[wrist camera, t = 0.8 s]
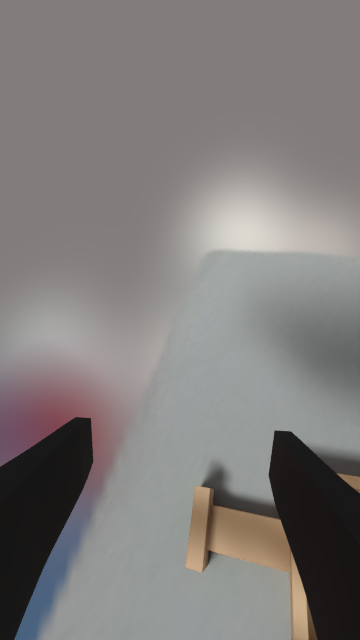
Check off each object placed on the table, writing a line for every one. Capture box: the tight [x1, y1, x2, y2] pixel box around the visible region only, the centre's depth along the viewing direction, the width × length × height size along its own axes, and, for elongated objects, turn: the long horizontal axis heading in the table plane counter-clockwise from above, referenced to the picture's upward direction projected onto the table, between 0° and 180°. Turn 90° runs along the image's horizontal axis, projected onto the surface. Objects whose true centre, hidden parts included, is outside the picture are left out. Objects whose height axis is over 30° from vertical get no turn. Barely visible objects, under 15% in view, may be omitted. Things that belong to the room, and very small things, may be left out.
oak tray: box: [185, 473, 360, 640], centre depth 18 cm, size 10×17×2 cm, turn 80°
